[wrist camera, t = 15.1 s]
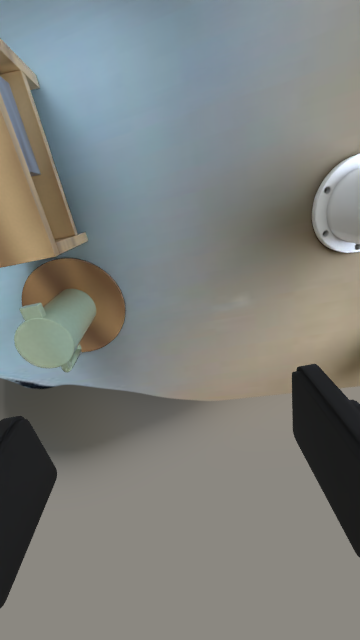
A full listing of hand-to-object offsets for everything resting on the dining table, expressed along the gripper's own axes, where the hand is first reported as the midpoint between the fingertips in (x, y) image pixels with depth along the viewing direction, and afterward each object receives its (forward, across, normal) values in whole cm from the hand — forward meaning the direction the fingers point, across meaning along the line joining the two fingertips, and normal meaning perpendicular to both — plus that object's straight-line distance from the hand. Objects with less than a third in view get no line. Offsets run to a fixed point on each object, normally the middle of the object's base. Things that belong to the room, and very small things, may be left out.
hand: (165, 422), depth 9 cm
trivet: (+31, +16, +5) cm, 35 cm away
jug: (+30, +15, +5) cm, 34 cm away
